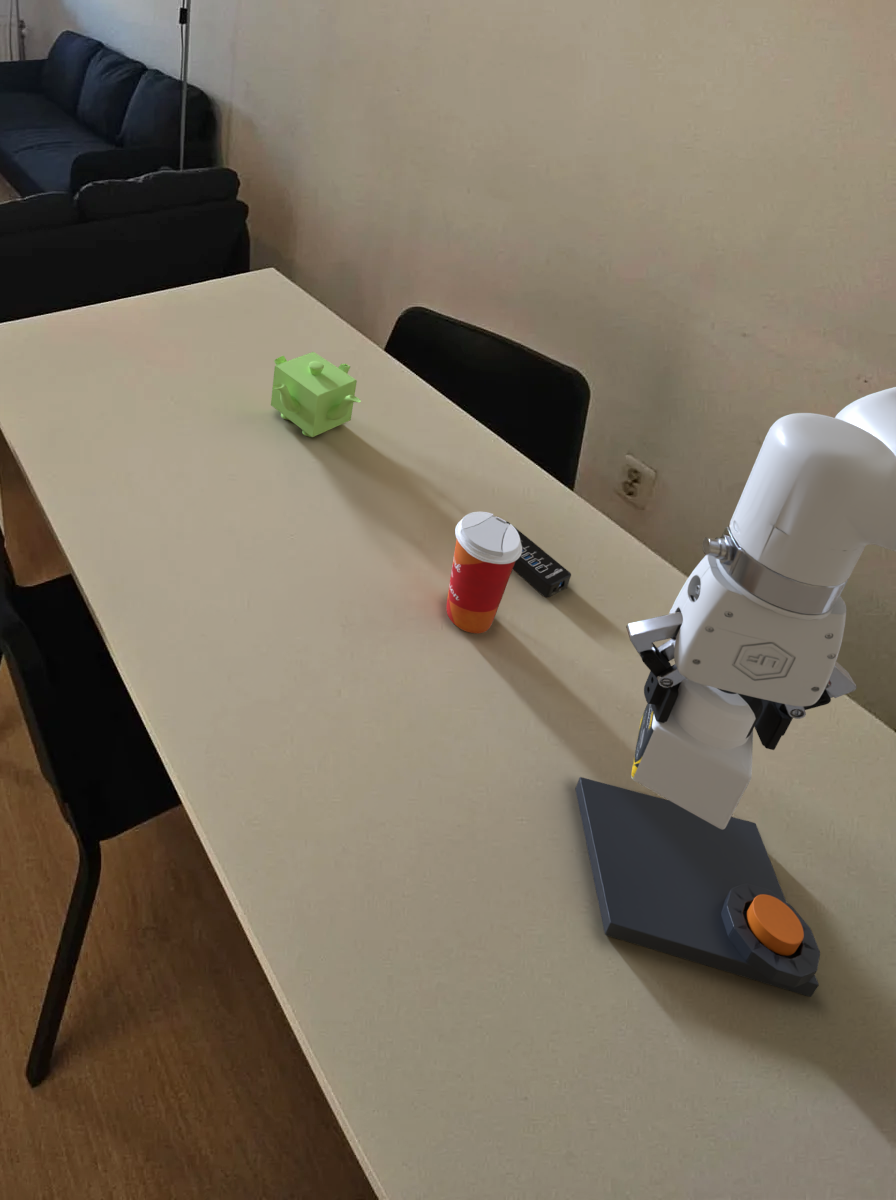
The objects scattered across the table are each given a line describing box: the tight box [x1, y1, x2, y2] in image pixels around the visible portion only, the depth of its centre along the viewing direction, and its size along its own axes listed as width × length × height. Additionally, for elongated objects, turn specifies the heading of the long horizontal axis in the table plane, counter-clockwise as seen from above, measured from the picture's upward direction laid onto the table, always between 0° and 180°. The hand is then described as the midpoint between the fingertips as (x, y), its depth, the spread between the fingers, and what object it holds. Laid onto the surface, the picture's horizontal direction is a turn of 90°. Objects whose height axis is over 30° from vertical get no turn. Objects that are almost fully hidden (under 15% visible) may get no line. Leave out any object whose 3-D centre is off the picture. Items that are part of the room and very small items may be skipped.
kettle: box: [270, 351, 362, 438], centre depth 135 cm, size 15×14×11 cm
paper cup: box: [445, 511, 522, 634], centre depth 97 cm, size 8×8×14 cm
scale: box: [575, 776, 821, 998], centre depth 72 cm, size 16×14×4 cm
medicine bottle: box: [630, 679, 763, 829], centre depth 68 cm, size 7×7×12 cm
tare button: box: [747, 894, 804, 956], centre depth 67 cm, size 4×4×2 cm
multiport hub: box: [505, 520, 572, 599], centre depth 108 cm, size 4×11×2 cm, turn 28°
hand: (708, 719), depth 67 cm, fingers closed on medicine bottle, 7 cm apart
